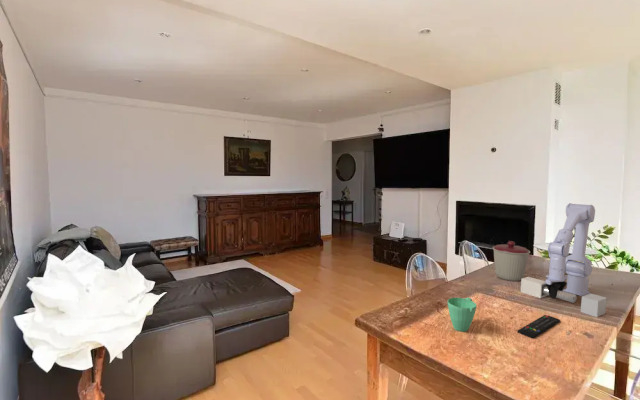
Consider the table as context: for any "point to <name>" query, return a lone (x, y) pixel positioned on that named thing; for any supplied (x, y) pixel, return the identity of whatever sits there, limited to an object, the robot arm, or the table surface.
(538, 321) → the remote control
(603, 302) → the socket
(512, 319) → the table surface
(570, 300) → the tube
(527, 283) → the sleeve
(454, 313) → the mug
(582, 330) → the table surface
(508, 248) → the canister
